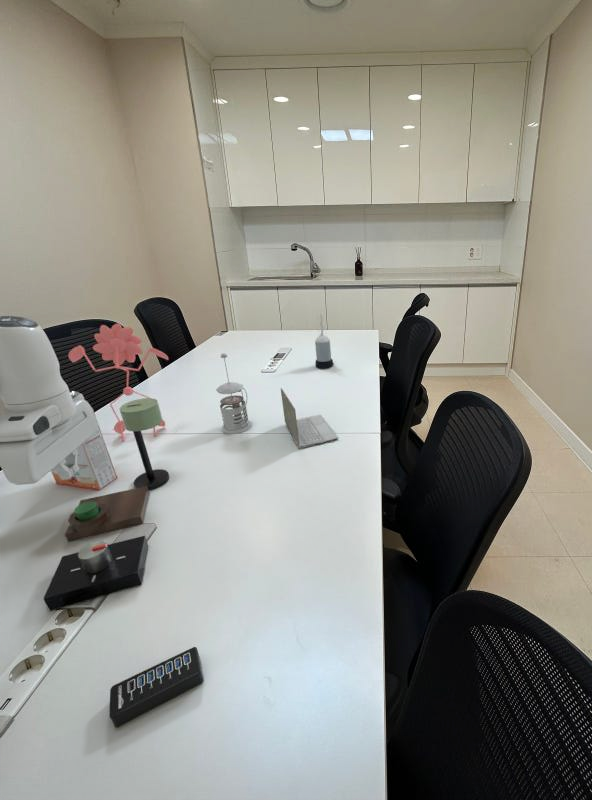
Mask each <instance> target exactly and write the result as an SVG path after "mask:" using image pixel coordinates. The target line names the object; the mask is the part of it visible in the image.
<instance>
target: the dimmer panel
mask: <svg viewBox="0 0 592 800" xmlns="http://www.w3.org/2000/svg"><path fill="white" fill-rule="evenodd" d="M107 545H108V548H109V550H110V553H111V556H112V562H111V563H110V565H109V566H108V567H106V568H105V569H103V570H102V571H99V572H97V573H92V574H89V573H86V572H85V571H84V569H83V566H82V564H81V562H80V560H79V557H78V553H79V551H78V552H74V553H70V554H66V555H62V556H61V558H60V561H59V563H58V565H57V567H56V569H55V572H54V574H53V576H52V578H51V581H50V583H49V585H48V588H47V590H46V592H45V593H44V595H43V601H44V604H45V605H46V607H47V609H48V611H49V612H52V611H55V610H58V609H61V608H65V607H68V606H72V605H75V604H79V603H82V602H86V601H89V600H93V599H97V598H99V597H103V596H107V595H110V594H113V593H117V592H120V591H124V590H129V589H131V588H135V587H138V586H142V585H143V579H144V574H145V568H146V563H147V558H148V551H149V544H148V540H147V537H146V535H141V536H137V537H133V538H129V539H125V540H122V541H117V542H114V543H109V544H107ZM96 597H97V598H96Z"/></svg>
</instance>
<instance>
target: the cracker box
mask: <svg viewBox="0 0 592 800" xmlns="http://www.w3.org/2000/svg"><path fill="white" fill-rule="evenodd" d="M91 408H92V410H93V412H94V414H95V415H96V413H95V411H94V408H93V407H91ZM99 424H100V423H98V430H97V431H96V432H95V433H93V434H92V435H91V436H90V437H89V438H88V439H87V440H85V441H84V442H83V443H82V444H81V445H80V446H78V447H77V451H78V458H77V464H78V467H79V470H78V471H77V472H76V473H75V474H74V475H73V476H72V477H71V478H70V479H66V480H62V479H61V478H60V477H59V474H58V472H56V471H54V470H51V471H50V472H51V475H52V476H53V479H54V481H55V483H56V484H58V485H63V486H64V485H65V486H70V487H77V488H82V489H90V490H94V491H101V490H103V489H104V488H105V487H107V486H108V485H109V484H111V483H113V482H114V481H115V480H116V479H118V475H117V473H116V469H115V466H114V464H113V461H112V458H111V456H110V453H109V450H108V447H107V444H106V441H105V439H104V436H103V433H102V430H101V428H100V425H99ZM64 465H65V464H64Z"/></svg>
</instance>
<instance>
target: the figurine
mask: <svg viewBox="0 0 592 800" xmlns="http://www.w3.org/2000/svg"><path fill="white" fill-rule="evenodd" d="M133 334H134V329H133V328H132V327H130V326H124V327H122V324H121V323H115V324H113V325H112V326H111V328H110V327H109V326H107V325H105V324H101V325H100V327H99V333H95V334H94V340H95V341H96V342H97V343H96V344H94V345H93V346H92V349H93V351H95V352H97V353H99V354H101V358H102V361H106V362H107V361H112V363H113V364H114V365H112V366H109V367H104V368H103V367H102V368H98V369H96V368H95V366H94V365H93V363H92V361H91V360H90V358H89V357H88V355H87V354H86V350H85V347H83V346H82V345H77V346H75V347H73V348H72V349H71V350H70V351H69V352H68V359H69V360H70V361H71V362H72V363H73V364H74V363H76V362H77V361H80V360H81V359H82V358H83V357H85V359H86V361H87V363H88V364H89V366H90V367H91V369H92V370H93V371H94V373H97V372H101V371H106V370H110V369H111V370H112V369H120V370H123V371H125V372H126V387H124V388H123V389H122V393H121V394H120V395H119V396H118V397H117V398H115V399H114V400H112V401H111V403H109V406H110V408H111V410H112V412H113V414H114V415H115V417H116V419H117V422H116V423H115V424H114V426H113V429H112V431H114V432H115V433H117V434H120V435H121V437H120V438H121V442H125V436H124V432H125V431H127V430H126V428H125V425H124V422H123V419H121V420H120V418H119V416H118V414H117V413H116V410H115V409H114V406H113V405H112V404H114V403H115V402H116V401H117V400H119V399H120V398H121V397H123V395H124V396H126V397H127V396H128V397H129V396H132V395H133V394H134V393H135V394H137V395H139V396H142V397H144V398H150V397H149V396H147V395H145V394H142V393H140V392H137V391H135V390H134V389H133V388H132V387H130V386H129V380H130V379H129V378H130V371H134V372H135V371H136V372H140V370H141V369H142V367H143V365H144V363H145V362H146V360H147V358H148V356H149V355H150V353H152V354H154V355H155V356H157V357H159V358H162V359H164V360H166V361H169V356H168V355H167V354H166V353H164V352H163V351H161V350H159V349H157V348H154V347H151V346H149V347H148V350H147V352H146V354H145V355H144V357H143V359H142V361H141V363H140V365H139V366H138V368H133V367H126V366H121V365H123V364H124V363H125V361H126V362H128V363H135V361H136V355H142V354H143V350H142V348H141V347H140V344H141V343H142V339H141V338H140V337H139V336H137V335H133ZM162 419H163V421H162V422H161V423H160V424H159V425H157V427H163V428H164V427H165V426H166V421H165V420H164V418H163V417H162ZM152 429H153V430H152V431H153V436H154V437H157V432H156V427H153V428H152ZM176 433H177V430H176V432H174V434H176Z"/></svg>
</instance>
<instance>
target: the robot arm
mask: <svg viewBox="0 0 592 800" xmlns="http://www.w3.org/2000/svg"><path fill="white" fill-rule="evenodd" d="M60 366H61V365H60V362H59V359H58V357H57V355H56V352H55V349H54V348H53V345H52V344H51V341H50V339H49V337H48V335H47V334H46V332H45V331H44V329H43V328H42V327H41V325H40V324H39V323H37V322H36V321H35V320H33V319H29V318H26V317H23V316H15V315H14V316H13V315H0V399H1V400H2V402H3V404H4V406H5V407H4V408H3V410H1V412H0V468H1V471H2V472H3V474H4V476H5V479H6V480H7V481H8V482H9V483H11V484H13V485H16V486H21V485H33V484H37V483H38V482H40V480H42V479H43V478H44V477H45V476H46V475H47V474H48V473H50V472H51V470H54V471H56V472H58V474H59V477H60V478H61V479H62V480H66V479H70V478H71V477H72V476H73V475H74V474H75V473H76V472H77V471H78V470H79V467H78V464H77V458H78V451H77V447H78V446H80V445H81V444H82V443H83V442H84V441H85V440H87V439H88V438H89V437H90V436H91V435H92V434H93V433H95V432H96V431H97V430H98V424H99V421H98V419H97V416H96V413H95V411H94V412H93V410H94V409H93V410H92V408H93V407H92V406H91V405H90V403H89V402H88V400H86V399H85V397H84V395H83V393H80V392H79V391H76V390H72V391H70V388H69V386H68V384H67V382H65V380H64V379H63V378H62V375H61V370H60V369H61V368H60ZM94 413H95V414H94ZM64 464H65V465H64Z"/></svg>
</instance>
